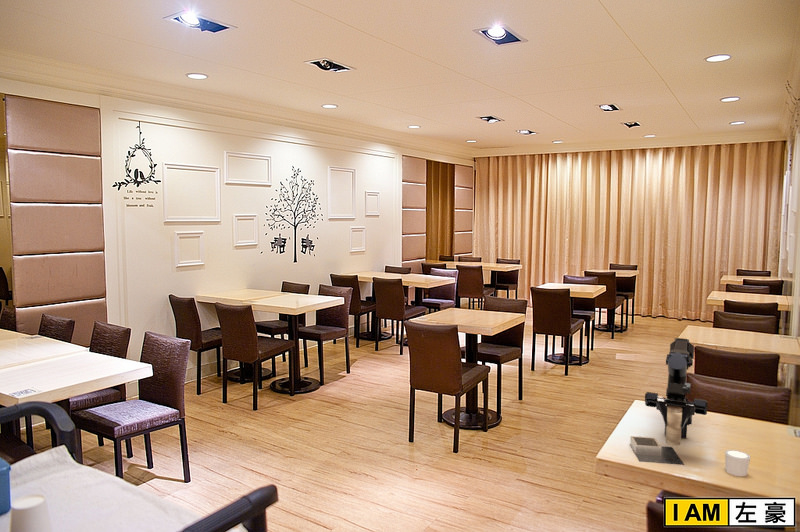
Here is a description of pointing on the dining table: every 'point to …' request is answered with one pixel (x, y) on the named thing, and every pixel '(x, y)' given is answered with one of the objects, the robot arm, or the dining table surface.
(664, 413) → the robot arm
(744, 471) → the white cylinder
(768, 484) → the dining table surface
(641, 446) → the dock plate
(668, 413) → the beige wooden block
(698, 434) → the dining table surface
